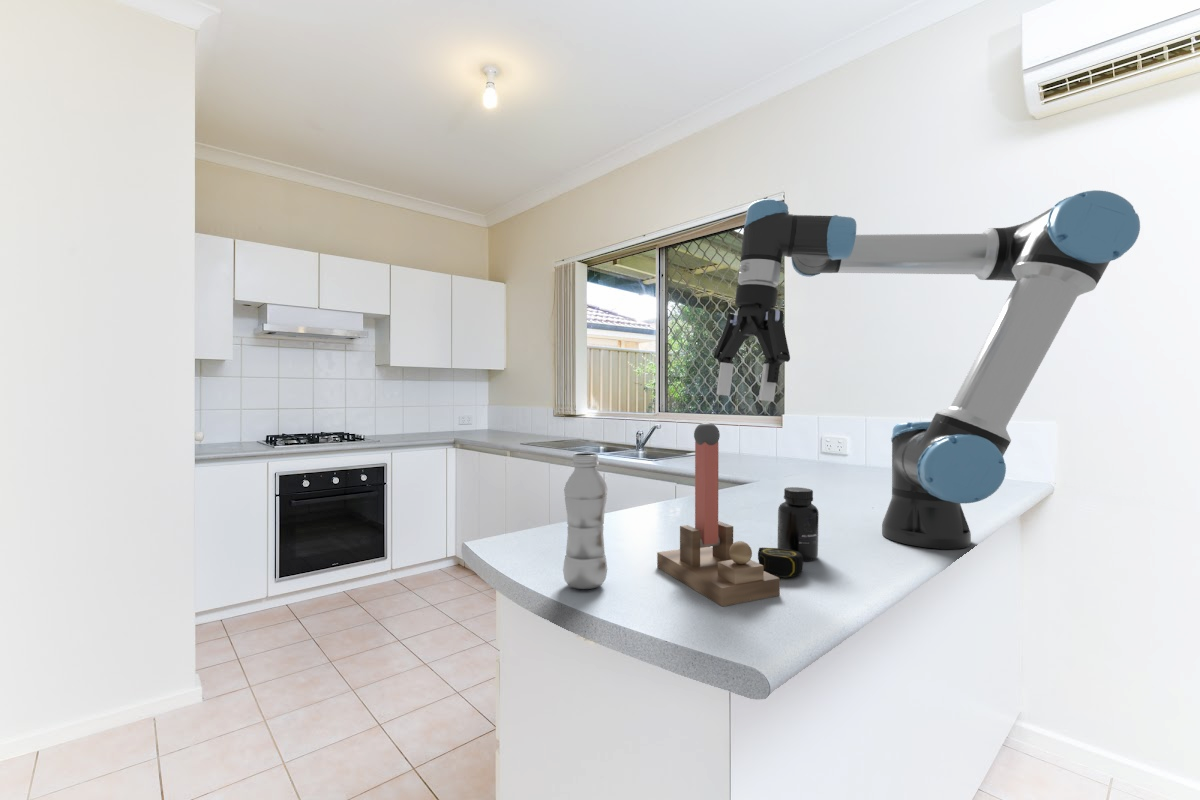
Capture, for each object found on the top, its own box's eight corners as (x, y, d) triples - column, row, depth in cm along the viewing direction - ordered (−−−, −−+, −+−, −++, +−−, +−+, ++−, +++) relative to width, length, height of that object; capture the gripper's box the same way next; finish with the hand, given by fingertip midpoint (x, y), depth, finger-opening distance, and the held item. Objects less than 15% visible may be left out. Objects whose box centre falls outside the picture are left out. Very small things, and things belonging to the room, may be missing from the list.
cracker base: (657, 567, 90) (657, 519, 90) (707, 559, 94) (707, 514, 94) (722, 606, 74) (722, 548, 74) (779, 595, 78) (779, 540, 78)
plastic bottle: (558, 581, 84) (558, 452, 83) (600, 577, 86) (599, 451, 85) (569, 596, 77) (568, 457, 77) (613, 591, 80) (613, 455, 79)
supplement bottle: (811, 564, 92) (812, 494, 91) (771, 557, 96) (772, 489, 96) (823, 555, 97) (823, 488, 97) (784, 548, 101) (785, 484, 101)
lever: (688, 545, 87) (689, 422, 87) (709, 542, 89) (710, 421, 88) (703, 551, 83) (703, 423, 83) (724, 548, 85) (724, 422, 85)
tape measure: (800, 569, 90) (800, 547, 90) (804, 583, 83) (805, 559, 83) (757, 566, 92) (757, 544, 92) (758, 579, 85) (758, 555, 85)
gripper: (704, 290, 112) (692, 391, 113) (786, 274, 89) (769, 401, 90) (735, 295, 115) (722, 394, 116) (821, 281, 92) (805, 405, 93)
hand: (743, 398), depth 103 cm, fingers open, 13 cm apart
